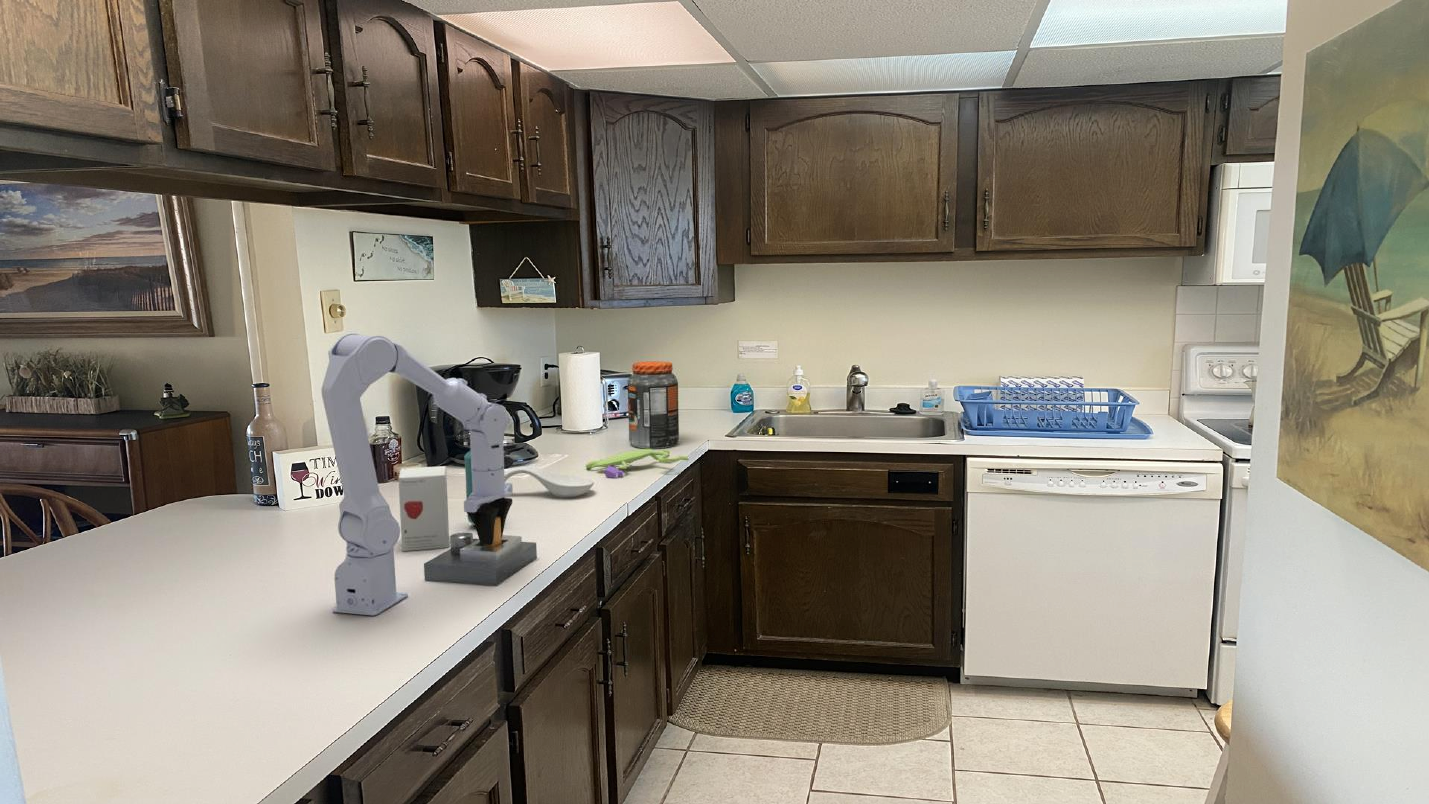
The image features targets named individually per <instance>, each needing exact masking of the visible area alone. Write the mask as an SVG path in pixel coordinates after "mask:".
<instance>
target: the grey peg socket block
mask: <svg viewBox="0 0 1429 804" xmlns="http://www.w3.org/2000/svg"><path fill="white" fill-rule="evenodd" d="M478 539H479V538H474V534H473V533H471V532H457V533H454V534H451V535H449V544H450V548H449V549H447V550H446V551H444V552H442V553H441V554H438V555H437V556H435V557H433V558H431V559H430V560H428V561H426V562H424V563H423V575H424V581H431V582H433V581H434V582H446V583H456V584H457V583H459V584H468V585H469V584H471V585H484V586H495V587H496V586H497V587H498V585H501V583H503V582H505V580H508V579H509V578H510V577H512V576H514V575H515V574H516V573H518V572H519V571H520V570H521V569H523V568H524V567H525V566H527V565H529V564H530V563H531V562H533V561H535V560H536V559H537V558H538V553H537V552H538V551H537V548H538V547H537V542H532V541H522V547H521V548H519V549H518V550H516V551H514V552H513V553H511V554H510V555H508V556H507V557H505V558H504V559H502V560H500V561H499V562H497V563H488V562H474V561H461V558H460V549H462V548H464V547H466V546H467V545H469V544H471V543H473V542H474V541H476V540H478Z"/></svg>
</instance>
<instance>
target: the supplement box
mask: <svg viewBox="0 0 1429 804" xmlns="http://www.w3.org/2000/svg"><path fill="white" fill-rule="evenodd" d="M447 480H448V478H447V466H446V465H445V466H444V465H443V466H441V465H439V466H428V467H427V466H424V467H423V466H422V467H407V468H404V467H403V468H401V469H400V471H399V475H398V497H399V515H400V516H399V517H400V535H401V537H400V538H401V550H402V552H406V551H407V552H410V551H421V550H436V549H445V548H449V546H450V532H449V531H450V528H449V508H448V506H449V504H448V503H449V502H448V500H449V499H448V482H447Z"/></svg>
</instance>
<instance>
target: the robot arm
mask: <svg viewBox="0 0 1429 804" xmlns="http://www.w3.org/2000/svg"><path fill="white" fill-rule="evenodd" d="M327 354H328V365H327V367H326V371H325V376H324V378H323V382H322V385H321V396H322V397H321V398H322V403H323V405H324V411H325V415H326V421H327V423H328V430H329V432H330V438H331V443H332V447H333V451H334V455H335V461H336V463H337V464H336V466H337V469H338V473H339V478H340V482H341V487H342V491H343V495H344V496H343V498H342V500H341V501H340V503H339V505H338V508H339V520H338V523H337V531H338V533H339V536H340V537H341V539H342V540H343V541H344V542H346V548H345V549H346V550H345V551H346V553H345V554H346V555H345V559H344V561H342V562H341V563H340V564H338V566H337V567H336V569H335V571H334V588H335V589H334V590H335V602H336V603H335V604H336V606H335V607H333V608H332V613H341V614H351V615H352V614H353V615H365V616H377V615H379V614H380V613H382V612H384V611H385V610H387V609H389V608H390V607H391V606H393V605H395V604H397V603H398V602H400V601H402V600H403V599H405V598H407V597H408V596H409V595H408V593H407V592H399V591H397V580H396V566H395V563H396V562H395V552H394V551H395V550H394V549H395V548H394V547H395V546H396V544H397V543H398V541H399V539H400V535H401V526H400V524H399V522H398V520H397V519H396V518H395V517H394V516H393V514H392V513H391V507H390V504H389V502H387V500H386V499H385V497H384V496H383V495H382V493H381V491H380V487H379V483H378V478H377V473H376V469H375V464H374V463H375V462H374V459H373V455H372V450H371V445H370V441H369V435H368V431H367V430H368V429H367V427H366V426H367V425H366V421H365V416H364V412H363V407H362V402H361V397H362V396H364V394H365V392H366V391H367V389H369V388H370V386H371V385H373V384H374V383H376V381H379V379H381V378H382V377H384V376H386V375H387V374H388V373H393V374H397V375H399V376H401V377H402V378H404V379H405V380H408V381H409V382H411V383H413V384H414V385H416V386H417V387H419V388H421V389H422V390H424V391H425V392H428V393H430V394H431V395H432V397H433V402H434V404H435V406H436V407H438V408H440V409H441V410H443V411H444V412H446V413H447V414H449V415H451V416H452V417H454V418H455V419H457V420H458V421H459V422H461V423H462V425H463V427H464V429H465V430H466V431H467V430H468V431H469V436H470V446H469V447H470V450H471V467H472V489H473V492H472V493H471V495H470V496H469V498H468V499H467V498H466V499H467V500H466V499H465V500H464V501H463V511H464V513H466V514H467V515H469V517H470V518H471V520H472V522H473V523H472V524H473V525H474V528H475V532H476V535H477V537H478V539H479V540H480V543H481V544H484V545H491V544H493V539H494V524H495V519H496V516H498V517H500V522H501V538H502V535H504V530H505V525H506V520H507V517H508V513H509V510H510V509H511V507H512V505H513V499H512V497H511V498H510V496H512V494H513V491H514V490H513V483H512V482H506V481H505V476H504V475H505V459H504V457H505V456H504V455H505V454H504V440H505V432H506V429H507V428H508V426H509V423H510V417H509V416H507V414H506V411H505V409H504V408H503V406H502V405H500V404H498V403H497V402H489V401H488V400H487V397H488V396H487V395H486V394H485V393H478V392H477V391H475V390H474V389H472V388H471V387H469V386H468V384H469V383H468V381H467V380H465V379H464V378H460V377H459V378H456V377H451V378H450V377H449V378H447V379H445V378H444V377H442V376H441V375H440V374H439V373H438V372H436V371H434V370H433V369H432V368H431V367H429V366H428V365H426V364H425V363H424V362H422V361H421V360H420V359H418V358H417V357H416V356H414V355H413V354H412V353H410V352H409V351H408V350H407V349H405V348H404V347H403V346H402V345H401V344H398V343H396V342H392V340H390V339H389V338H388V337H385V336H384V335H366V334H365V335H363V334H358V333H347V334H344V335H342V336H341V337H340V338H339V339H337V341H336V342H335V343H334V344H333V345H332V347H330V349H329V350H328V352H327Z"/></svg>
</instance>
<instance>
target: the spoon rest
mask: <svg viewBox="0 0 1429 804" xmlns="http://www.w3.org/2000/svg"><path fill="white" fill-rule="evenodd" d="M518 474H526V475H529V476H531V477H533V478H534V479H535V480H537V481H538V482H539V483H540V484H541V485H542V486H544V487H545V488H546V490H547V491H548V492H550V494H552V495H554V496H555V497H557V498H561V499H562V498H564V499H565V498H567V499H568V498H569V499H571V498H576V497H580V496H583V495H585V494H586V493H588V492H589V491H590V490H591V489H592V487H593V486H594V484H595V482H594V480H593V479H592V478H589V477H584V476H580V475H573V474H564V473H557V472H553V471H550V470H546V469H541V468H537V467H532V466H531V467H530V466H519V467H518V466H517V467H514V468H511V469H510V470H508V471H507V472H505V473H504V476H505V482H507V480H508V479H509V478H511V477H514V476H515V475H518Z"/></svg>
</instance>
